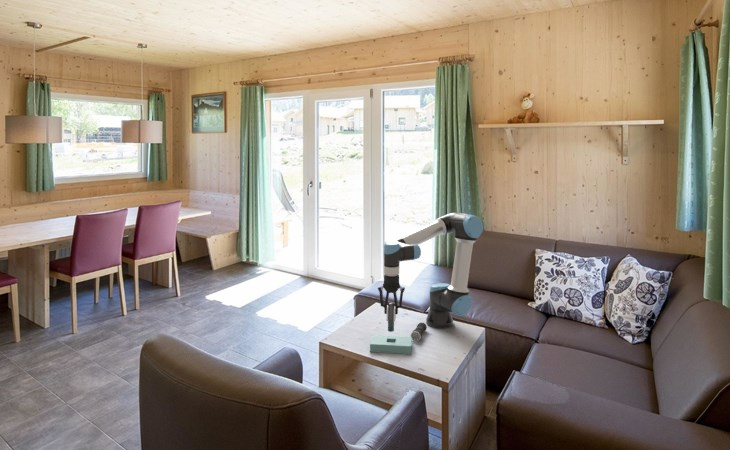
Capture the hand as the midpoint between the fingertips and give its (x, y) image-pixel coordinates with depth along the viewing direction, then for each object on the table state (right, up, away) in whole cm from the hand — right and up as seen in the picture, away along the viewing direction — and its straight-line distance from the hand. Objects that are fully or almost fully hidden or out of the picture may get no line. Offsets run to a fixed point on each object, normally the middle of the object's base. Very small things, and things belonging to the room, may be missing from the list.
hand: (391, 320), depth 220 cm
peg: (0, -5, +1) cm, 6 cm away
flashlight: (+16, -13, +17) cm, 27 cm away
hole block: (0, -15, +2) cm, 15 cm away
